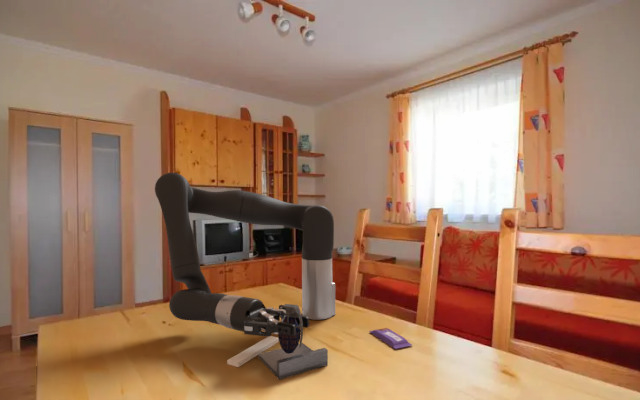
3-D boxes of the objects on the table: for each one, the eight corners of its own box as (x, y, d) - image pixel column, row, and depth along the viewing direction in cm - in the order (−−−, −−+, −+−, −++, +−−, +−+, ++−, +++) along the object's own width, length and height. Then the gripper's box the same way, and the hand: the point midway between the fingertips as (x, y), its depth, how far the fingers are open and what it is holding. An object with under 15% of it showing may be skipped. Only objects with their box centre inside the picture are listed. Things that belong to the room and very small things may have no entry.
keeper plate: (302, 346, 79) (302, 332, 79) (327, 365, 70) (327, 349, 70) (258, 357, 74) (258, 343, 74) (279, 379, 64) (279, 363, 64)
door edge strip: (269, 338, 84) (269, 335, 84) (279, 341, 82) (279, 337, 82) (227, 364, 71) (227, 360, 71) (237, 367, 69) (237, 363, 69)
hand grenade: (307, 350, 73) (308, 303, 73) (299, 359, 69) (300, 310, 69) (283, 345, 75) (284, 301, 75) (273, 354, 71) (274, 306, 71)
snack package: (412, 341, 79) (395, 344, 77) (413, 349, 79) (395, 353, 77) (384, 324, 89) (368, 327, 88) (384, 331, 89) (368, 335, 87)
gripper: (217, 305, 72) (282, 318, 64) (259, 290, 85) (318, 299, 77) (217, 340, 72) (282, 358, 64) (259, 319, 85) (318, 332, 77)
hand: (301, 326), depth 71 cm, fingers closed on hand grenade, 4 cm apart
